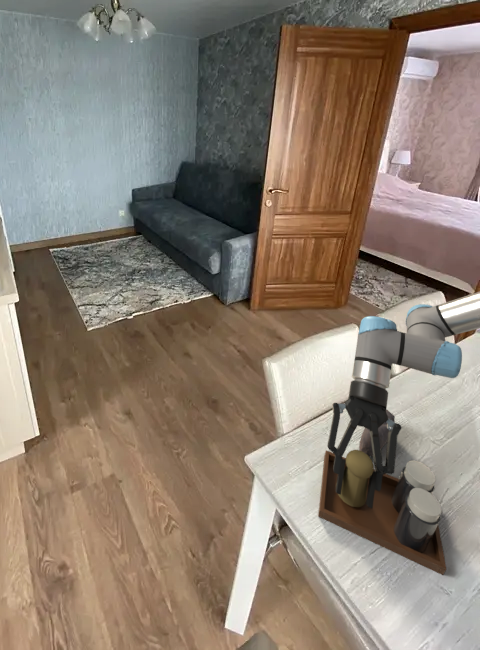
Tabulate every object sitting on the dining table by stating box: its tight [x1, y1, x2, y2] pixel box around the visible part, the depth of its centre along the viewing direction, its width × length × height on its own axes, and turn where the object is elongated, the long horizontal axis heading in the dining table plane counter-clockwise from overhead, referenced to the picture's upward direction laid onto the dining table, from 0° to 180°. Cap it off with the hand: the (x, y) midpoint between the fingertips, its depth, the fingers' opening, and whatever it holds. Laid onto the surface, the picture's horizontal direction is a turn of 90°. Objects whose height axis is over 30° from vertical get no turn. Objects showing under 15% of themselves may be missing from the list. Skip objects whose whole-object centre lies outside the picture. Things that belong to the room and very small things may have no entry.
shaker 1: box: [392, 460, 437, 513], centre depth 72 cm, size 6×6×11 cm
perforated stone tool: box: [358, 408, 396, 458], centre depth 87 cm, size 15×5×7 cm, turn 128°
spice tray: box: [317, 450, 447, 576], centre depth 73 cm, size 22×15×3 cm
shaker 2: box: [394, 488, 443, 553], centre depth 67 cm, size 6×6×11 cm
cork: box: [336, 449, 375, 507], centre depth 73 cm, size 6×6×11 cm
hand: (353, 499), depth 71 cm, fingers closed on cork, 5 cm apart
